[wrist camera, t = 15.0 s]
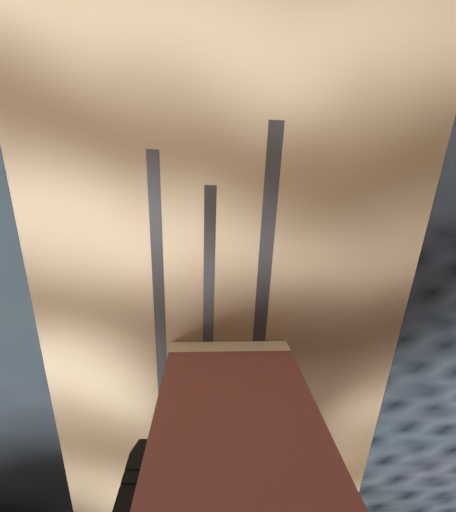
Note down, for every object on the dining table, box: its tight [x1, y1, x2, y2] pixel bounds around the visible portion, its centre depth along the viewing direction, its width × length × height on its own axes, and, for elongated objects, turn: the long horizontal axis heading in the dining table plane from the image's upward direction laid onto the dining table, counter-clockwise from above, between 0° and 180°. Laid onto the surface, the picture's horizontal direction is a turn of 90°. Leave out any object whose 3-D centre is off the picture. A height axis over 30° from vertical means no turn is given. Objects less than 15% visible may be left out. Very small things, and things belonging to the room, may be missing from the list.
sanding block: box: [130, 341, 368, 512], centre depth 8 cm, size 8×4×6 cm, turn 178°
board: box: [0, 0, 456, 512], centre depth 10 cm, size 22×14×2 cm, turn 178°
